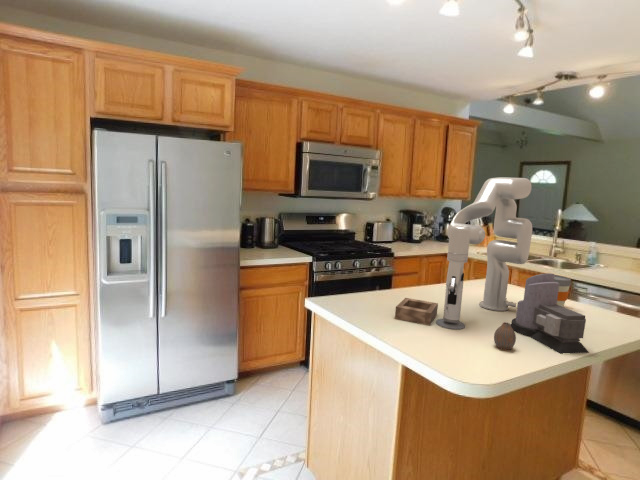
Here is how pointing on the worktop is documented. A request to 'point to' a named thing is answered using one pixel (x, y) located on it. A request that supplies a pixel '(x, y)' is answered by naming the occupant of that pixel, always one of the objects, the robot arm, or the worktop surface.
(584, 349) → the juicer
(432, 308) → the brown wooden tray
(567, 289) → the reusable coffee cup
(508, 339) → the vase
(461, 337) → the worktop surface
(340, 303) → the worktop surface
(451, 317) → the travel mug
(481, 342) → the worktop surface
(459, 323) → the rubber coaster
